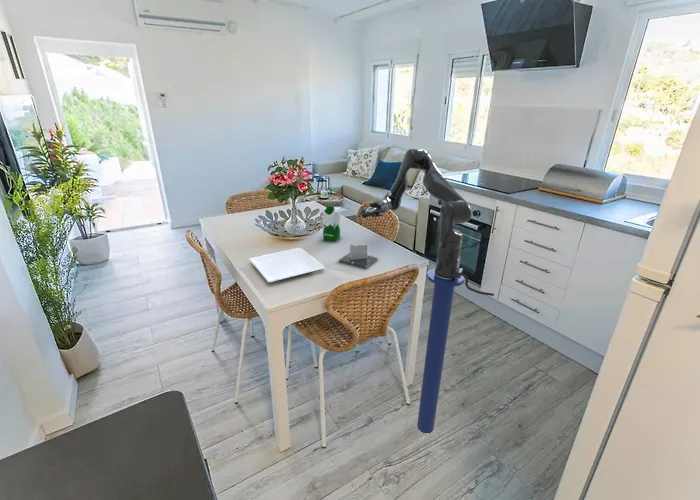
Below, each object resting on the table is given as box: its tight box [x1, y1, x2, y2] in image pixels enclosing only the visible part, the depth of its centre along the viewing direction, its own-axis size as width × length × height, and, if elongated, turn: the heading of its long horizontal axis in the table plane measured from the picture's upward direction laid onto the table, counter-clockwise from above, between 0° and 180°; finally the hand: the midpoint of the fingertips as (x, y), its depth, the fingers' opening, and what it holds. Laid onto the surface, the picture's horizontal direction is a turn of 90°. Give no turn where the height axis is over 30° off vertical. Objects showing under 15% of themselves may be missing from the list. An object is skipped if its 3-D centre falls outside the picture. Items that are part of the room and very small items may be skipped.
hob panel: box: [338, 252, 378, 270], centre depth 164 cm, size 14×12×2 cm
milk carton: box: [321, 204, 342, 243], centre depth 187 cm, size 9×9×20 cm
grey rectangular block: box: [349, 243, 368, 260], centre depth 163 cm, size 8×2×7 cm, turn 105°
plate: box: [248, 247, 326, 283], centre depth 157 cm, size 26×26×2 cm
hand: (363, 215), depth 167 cm, fingers closed
